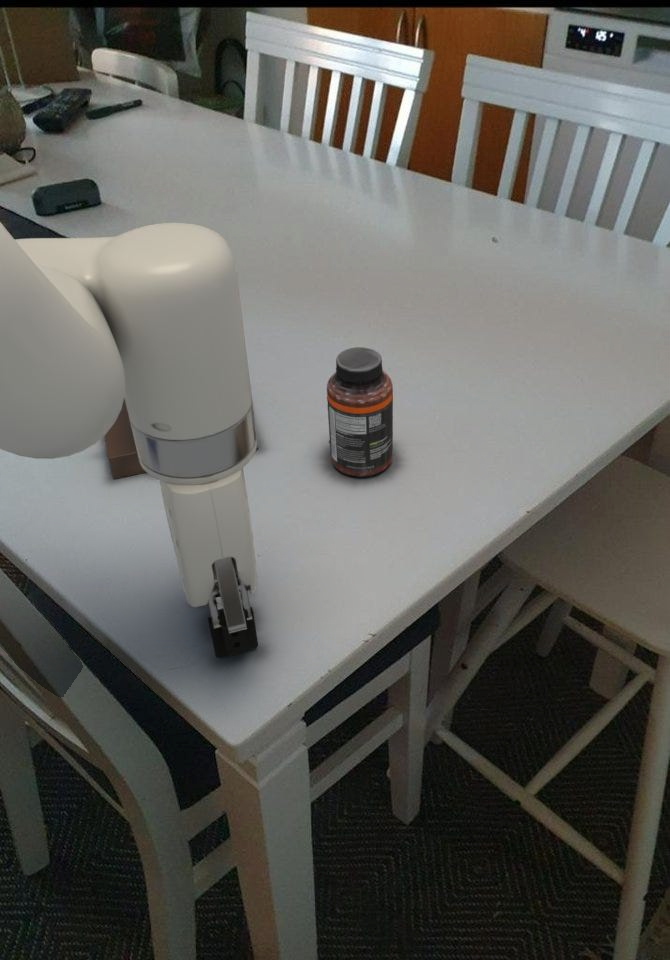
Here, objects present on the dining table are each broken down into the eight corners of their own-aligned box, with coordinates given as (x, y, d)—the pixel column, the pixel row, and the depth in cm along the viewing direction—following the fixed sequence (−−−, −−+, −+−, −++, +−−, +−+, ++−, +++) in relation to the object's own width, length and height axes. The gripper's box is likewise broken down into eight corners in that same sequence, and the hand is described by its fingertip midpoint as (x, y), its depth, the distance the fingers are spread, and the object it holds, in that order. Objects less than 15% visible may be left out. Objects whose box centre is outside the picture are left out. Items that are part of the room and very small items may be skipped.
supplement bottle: (352, 434, 81) (350, 333, 73) (404, 453, 78) (406, 351, 71) (318, 466, 77) (311, 363, 70) (371, 487, 74) (370, 383, 67)
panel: (97, 493, 75) (91, 471, 73) (88, 414, 85) (82, 392, 83) (261, 458, 78) (259, 436, 76) (233, 386, 88) (231, 365, 86)
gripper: (121, 372, 56) (165, 558, 68) (151, 531, 43) (199, 727, 55) (227, 352, 58) (253, 538, 69) (287, 501, 45) (305, 698, 56)
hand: (228, 620), depth 62 cm, fingers open, 5 cm apart
